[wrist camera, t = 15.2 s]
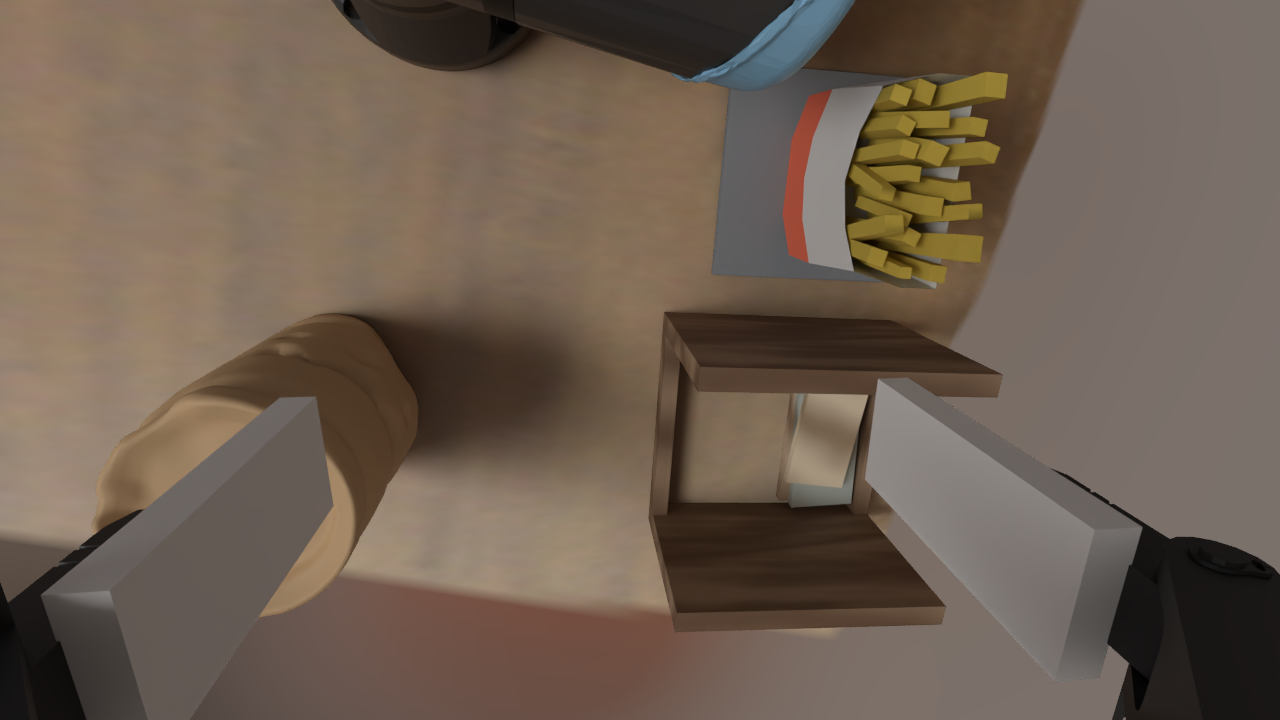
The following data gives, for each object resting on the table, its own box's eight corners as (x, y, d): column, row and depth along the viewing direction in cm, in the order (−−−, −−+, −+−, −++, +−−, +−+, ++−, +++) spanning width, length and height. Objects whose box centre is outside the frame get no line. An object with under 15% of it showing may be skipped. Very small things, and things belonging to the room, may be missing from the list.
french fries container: (773, 250, 48) (886, 297, 31) (791, 98, 45) (929, 59, 28) (829, 252, 49) (971, 300, 32) (851, 103, 46) (1022, 67, 29)
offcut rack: (664, 312, 49) (700, 366, 36) (890, 320, 52) (1002, 374, 38) (648, 518, 55) (675, 632, 41) (854, 517, 57) (941, 624, 44)
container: (224, 405, 48) (34, 539, 31) (318, 278, 46) (170, 347, 29) (368, 493, 51) (270, 658, 34) (461, 379, 49) (406, 494, 32)
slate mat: (731, 63, 44) (733, 62, 44) (916, 79, 46) (920, 78, 46) (711, 273, 49) (713, 274, 48) (880, 280, 51) (884, 282, 50)
